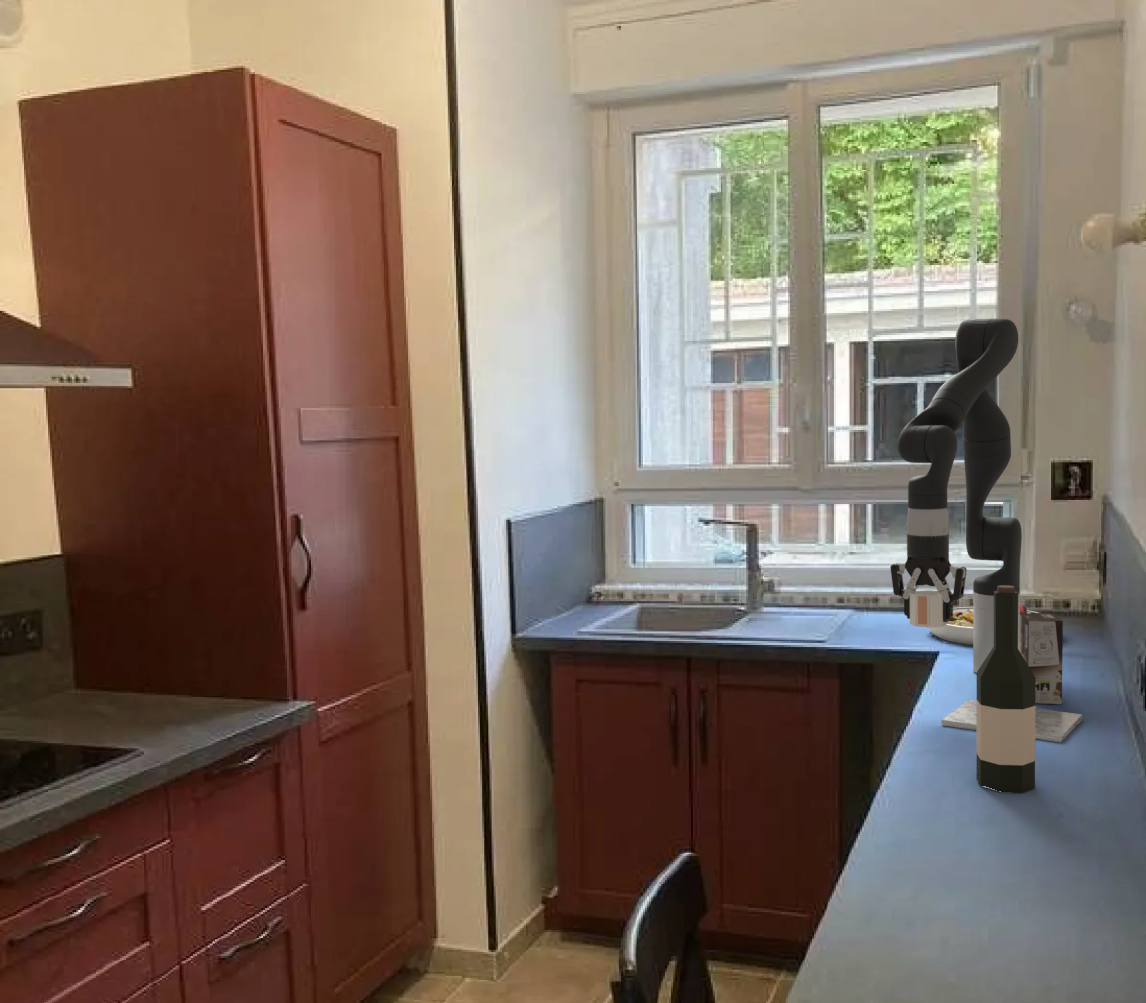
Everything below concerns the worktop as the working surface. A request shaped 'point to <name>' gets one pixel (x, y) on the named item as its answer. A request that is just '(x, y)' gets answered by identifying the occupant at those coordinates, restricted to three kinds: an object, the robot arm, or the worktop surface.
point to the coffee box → (1043, 653)
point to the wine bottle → (1006, 705)
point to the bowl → (962, 626)
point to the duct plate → (1046, 721)
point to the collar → (926, 609)
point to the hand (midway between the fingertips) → (928, 619)
